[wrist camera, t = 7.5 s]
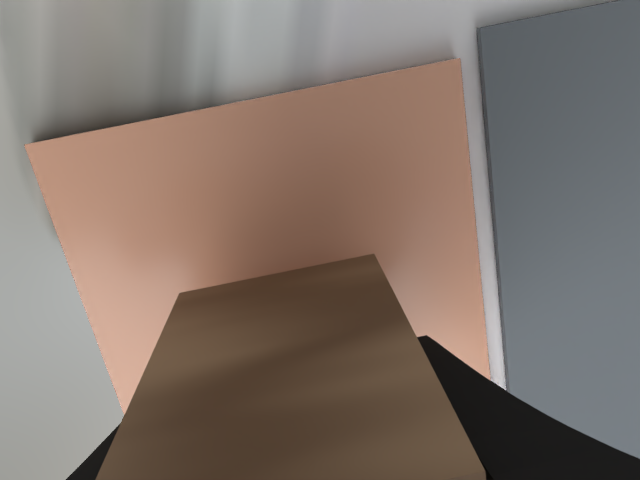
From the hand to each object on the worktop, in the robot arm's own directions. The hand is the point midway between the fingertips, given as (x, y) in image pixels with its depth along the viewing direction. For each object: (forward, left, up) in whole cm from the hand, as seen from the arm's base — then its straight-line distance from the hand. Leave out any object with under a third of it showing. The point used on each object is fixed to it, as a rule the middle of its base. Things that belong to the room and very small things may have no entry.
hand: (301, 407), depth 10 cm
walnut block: (0, 0, -2) cm, 2 cm away
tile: (0, 0, -3) cm, 3 cm away
